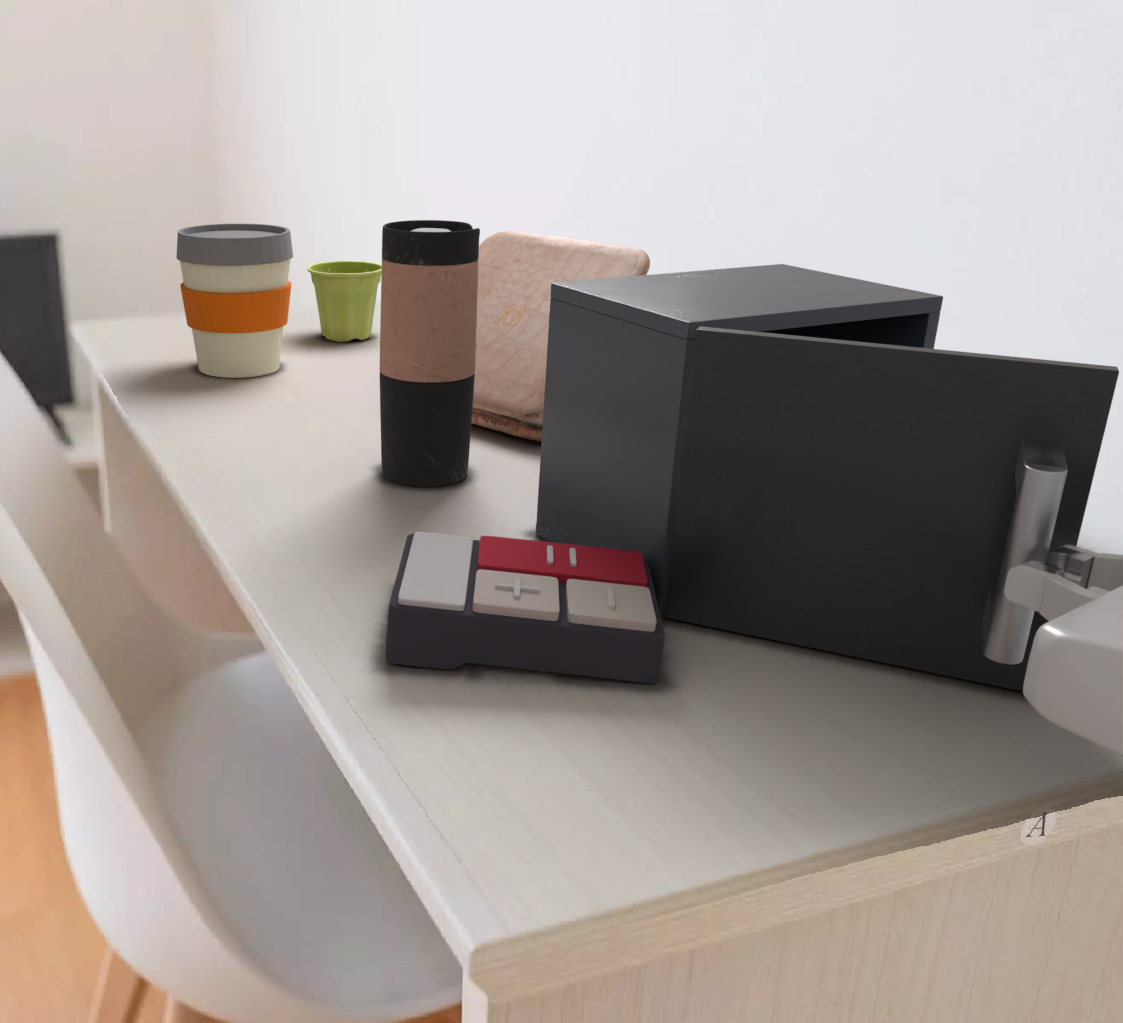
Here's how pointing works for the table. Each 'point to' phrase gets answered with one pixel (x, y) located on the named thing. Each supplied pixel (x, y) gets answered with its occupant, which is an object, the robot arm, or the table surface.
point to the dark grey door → (879, 495)
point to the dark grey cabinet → (672, 384)
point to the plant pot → (346, 297)
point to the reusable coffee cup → (236, 295)
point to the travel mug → (427, 350)
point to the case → (528, 318)
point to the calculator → (524, 607)
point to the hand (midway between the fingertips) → (1031, 570)
